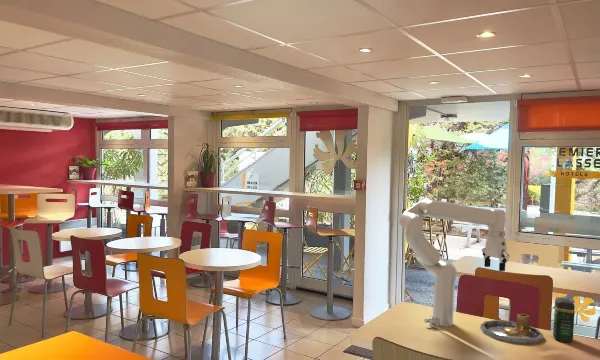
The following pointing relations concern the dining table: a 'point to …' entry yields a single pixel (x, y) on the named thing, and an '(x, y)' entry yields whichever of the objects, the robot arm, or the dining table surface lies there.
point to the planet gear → (523, 324)
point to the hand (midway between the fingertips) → (494, 268)
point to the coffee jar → (564, 320)
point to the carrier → (510, 332)
